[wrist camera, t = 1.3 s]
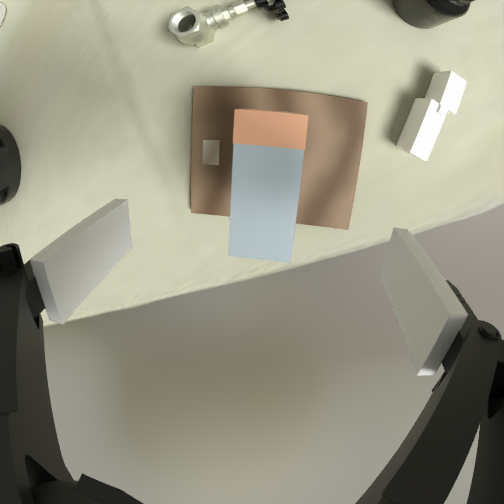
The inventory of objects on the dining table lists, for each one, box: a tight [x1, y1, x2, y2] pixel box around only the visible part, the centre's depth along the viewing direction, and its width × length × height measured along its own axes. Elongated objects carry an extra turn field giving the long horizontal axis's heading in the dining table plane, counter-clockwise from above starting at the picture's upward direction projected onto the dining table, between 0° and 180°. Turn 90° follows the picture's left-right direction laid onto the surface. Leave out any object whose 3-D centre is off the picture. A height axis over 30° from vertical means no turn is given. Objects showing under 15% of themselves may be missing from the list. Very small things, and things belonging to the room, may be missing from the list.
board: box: [191, 86, 368, 230], centre depth 31 cm, size 20×16×9 cm
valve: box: [168, 0, 289, 47], centre depth 25 cm, size 7×7×12 cm
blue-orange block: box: [229, 109, 308, 263], centre depth 24 cm, size 5×11×6 cm, turn 176°
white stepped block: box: [396, 71, 467, 161], centre depth 28 cm, size 15×11×6 cm
